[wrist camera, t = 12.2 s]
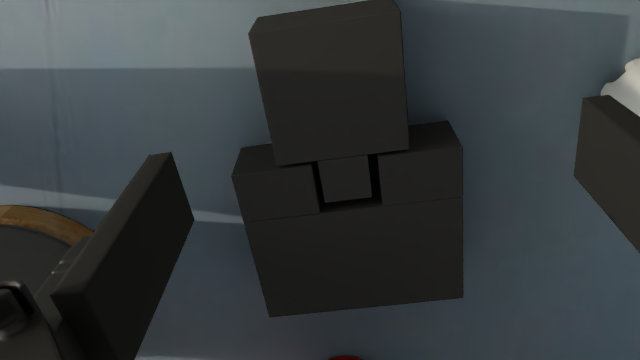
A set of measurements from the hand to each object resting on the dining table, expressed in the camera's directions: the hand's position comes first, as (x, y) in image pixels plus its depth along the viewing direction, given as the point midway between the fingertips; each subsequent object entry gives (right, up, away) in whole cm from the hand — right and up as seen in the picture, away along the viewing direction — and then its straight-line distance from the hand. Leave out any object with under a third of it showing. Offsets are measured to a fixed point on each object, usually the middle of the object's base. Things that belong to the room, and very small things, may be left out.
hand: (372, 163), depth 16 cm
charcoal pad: (+1, -3, +20) cm, 20 cm away
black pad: (-1, +5, +15) cm, 16 cm away
